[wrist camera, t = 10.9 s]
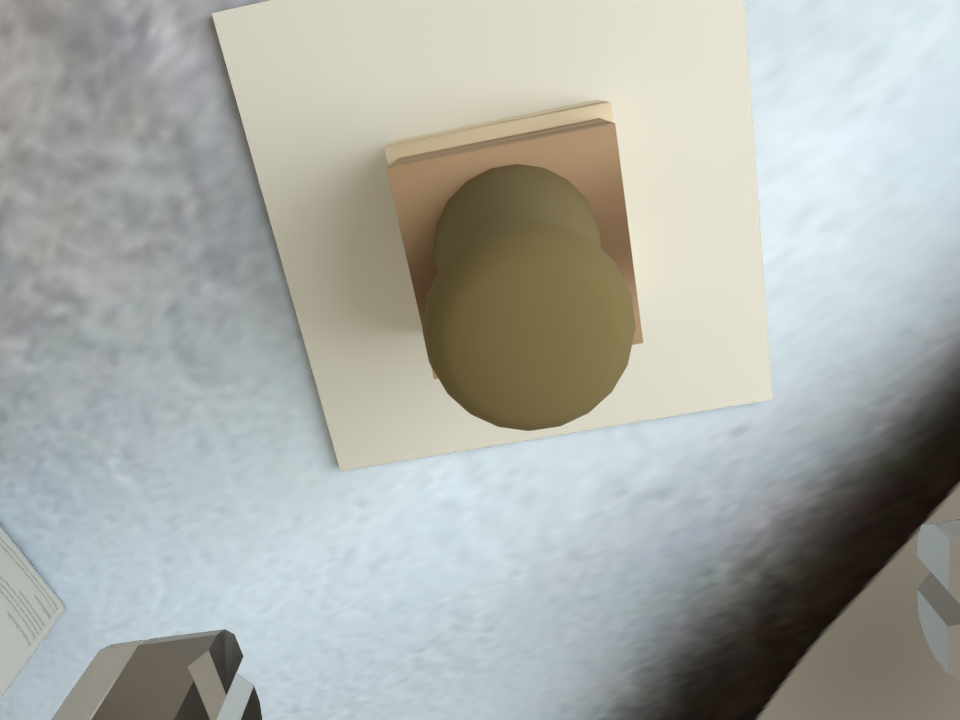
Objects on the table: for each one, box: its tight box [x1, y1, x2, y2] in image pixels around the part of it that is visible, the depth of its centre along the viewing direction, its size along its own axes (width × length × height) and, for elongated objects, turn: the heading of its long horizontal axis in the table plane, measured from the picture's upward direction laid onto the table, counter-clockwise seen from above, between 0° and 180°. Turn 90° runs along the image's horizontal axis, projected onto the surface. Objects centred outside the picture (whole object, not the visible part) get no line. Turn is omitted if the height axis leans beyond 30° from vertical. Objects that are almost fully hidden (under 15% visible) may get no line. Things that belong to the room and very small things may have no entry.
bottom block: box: [384, 100, 614, 167], centre depth 34 cm, size 9×9×4 cm
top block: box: [386, 118, 643, 379], centre depth 30 cm, size 8×8×4 cm
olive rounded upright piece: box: [422, 164, 636, 431], centre depth 23 cm, size 6×6×11 cm
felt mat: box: [212, 0, 773, 471], centre depth 36 cm, size 22×22×1 cm
